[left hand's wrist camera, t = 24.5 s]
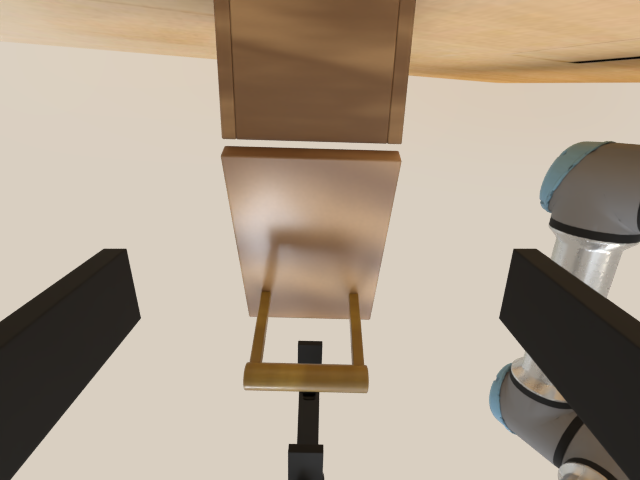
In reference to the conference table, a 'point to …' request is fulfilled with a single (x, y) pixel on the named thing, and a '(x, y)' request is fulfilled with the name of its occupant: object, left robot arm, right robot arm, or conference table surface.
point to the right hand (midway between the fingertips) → (308, 385)
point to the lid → (309, 248)
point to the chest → (313, 69)
